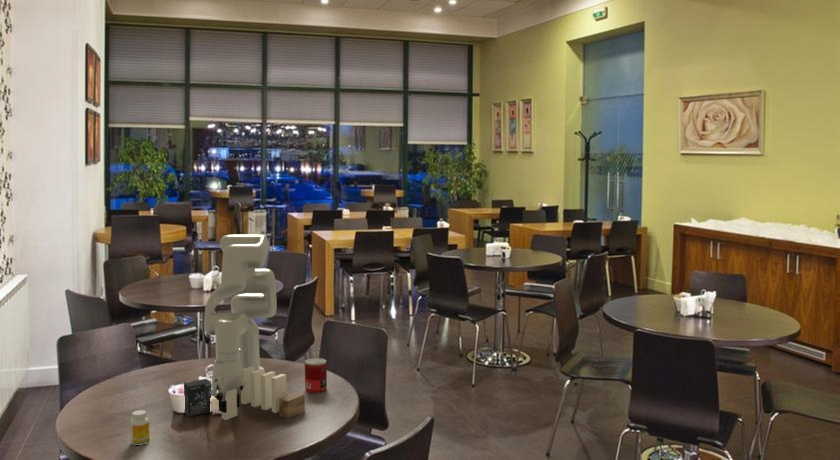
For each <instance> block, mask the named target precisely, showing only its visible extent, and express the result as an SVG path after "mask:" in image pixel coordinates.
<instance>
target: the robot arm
mask: <svg viewBox="0 0 840 460" xmlns="http://www.w3.org/2000/svg"><path fill="white" fill-rule="evenodd" d="M219 247H220V249H221V251H222V262H221V263H222V264H221V275H220V277H221V278H220V284H219V286H218V287H217V288H215V289H214V291H213V292H212V293H211V294H210V296H209V297H208V299H207V301H206V304H205V309H204V319H203V328H204V332H205V334H207V335H209V336H214V337H215V360H214V363H213V365H212V372H211V373H212V374H211V375H212V376H211V392H210V394H211V395H212V396H213V397H214V398H215V399H216V400H217V401H218V411H219V412H221V413H222V412H224V413H226V412H227V401H225V397H226V392H227V391H230V390H233V389H235V388H236V389H237V409H239V408H240V407H241V405H240V404H241V391H242V390H243V387H244V386H245V384H246V383H247V382H246V380H245V379H244V378H243V369H244V368H247V367H250V366H252V367H255V371H256V370H259V369H264V367H262V366H260V365H261V363H260V362H261V361H260V331H259V326H258V324H257V323H256V322H255V321H254V319H262V318H263V319H264V318H265V319H267V318H273V317H275V315H276V313H277V308H278V306H277V304H278V303H277V286H276V276H275V274H274V272H273V270H272V269H269V268H263V266H264V265H265V263H266V260H267V256H268V254H269V250H270V249H269V248H270V244H269V239H268V237H267V236H266V235H264V234H226V235H223V236H222V237H221V238H220V240H219ZM231 296H233V297H232V298H231V300H230V310H231V312H215V310H216V307H217V306H218V305H219V304H220V303H221V302H222V301H224V300H226V299H227V298H230V297H231ZM264 370H265V369H264ZM221 393H222V396H221Z"/></svg>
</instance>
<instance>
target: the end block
mask: <svg viewBox="0 0 840 460" xmlns="http://www.w3.org/2000/svg"><path fill="white" fill-rule="evenodd" d="M305 398H306V396H305V394H304V393H302V392H301V393H300V392H296V391H295V392H293V393H290V394H288V395H286V396H285V397H282V398H280V399H279V412H278V413H279V417H282V418H285V419H291V418H293V417H295V416H297V415H298V416H299V415H300V414H302V413H305V412H306V409H305V407H306V405H305V403H306V401H305Z"/></svg>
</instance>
